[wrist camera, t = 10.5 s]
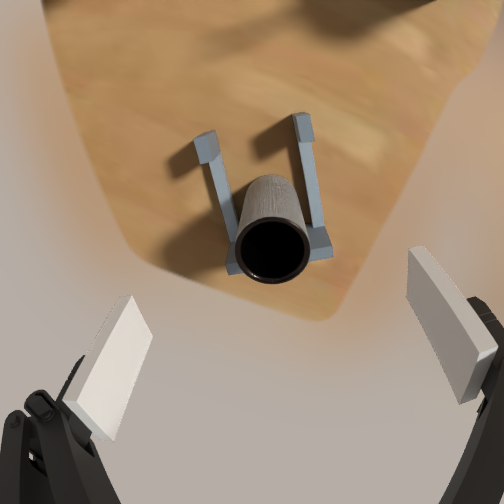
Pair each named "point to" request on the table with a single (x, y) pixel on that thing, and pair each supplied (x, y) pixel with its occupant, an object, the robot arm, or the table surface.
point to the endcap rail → (316, 231)
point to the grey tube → (272, 232)
